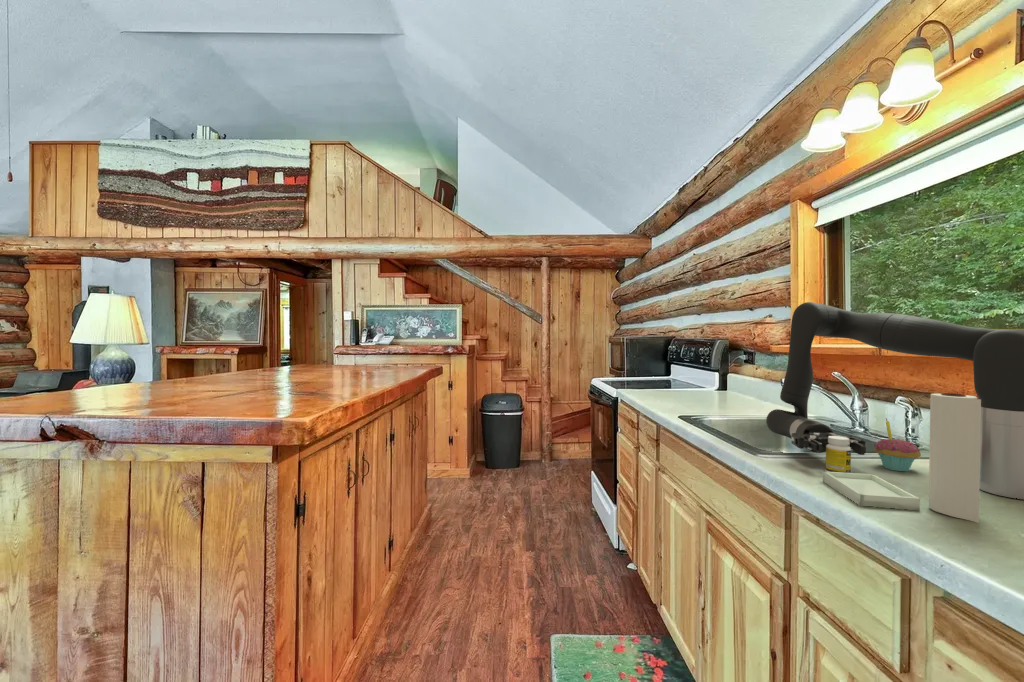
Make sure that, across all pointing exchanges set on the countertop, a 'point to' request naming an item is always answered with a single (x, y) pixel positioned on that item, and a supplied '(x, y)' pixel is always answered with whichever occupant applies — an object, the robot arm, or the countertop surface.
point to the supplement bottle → (838, 455)
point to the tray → (871, 490)
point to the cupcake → (896, 452)
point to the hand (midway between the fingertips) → (841, 449)
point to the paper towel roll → (955, 455)
